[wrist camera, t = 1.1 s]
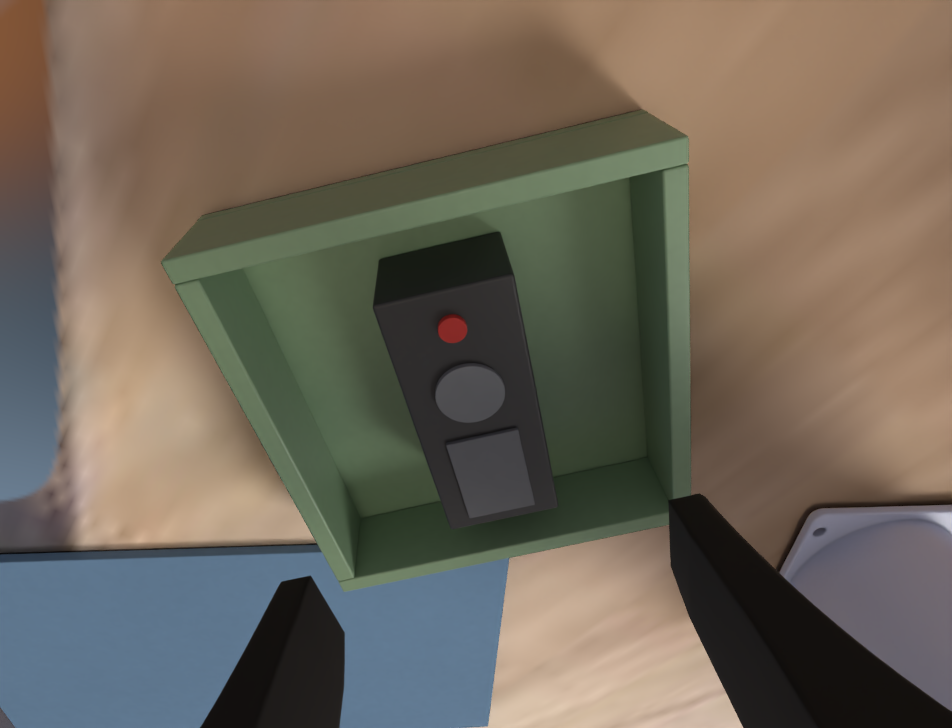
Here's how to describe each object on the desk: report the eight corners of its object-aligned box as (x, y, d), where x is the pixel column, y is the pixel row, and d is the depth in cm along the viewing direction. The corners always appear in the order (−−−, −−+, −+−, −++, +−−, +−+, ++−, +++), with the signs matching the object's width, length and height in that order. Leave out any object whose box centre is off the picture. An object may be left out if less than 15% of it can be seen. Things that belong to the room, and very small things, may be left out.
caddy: (660, 457, 22) (692, 520, 19) (351, 523, 22) (343, 593, 20) (644, 108, 15) (689, 135, 12) (200, 215, 15) (158, 261, 13)
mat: (487, 718, 31) (487, 726, 31) (39, 745, 29) (35, 754, 28) (509, 538, 23) (510, 546, 23) (-98, 556, 21) (-106, 565, 21)
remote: (542, 447, 20) (560, 513, 18) (446, 467, 20) (451, 536, 18) (500, 230, 16) (515, 277, 13) (378, 258, 16) (370, 310, 14)
